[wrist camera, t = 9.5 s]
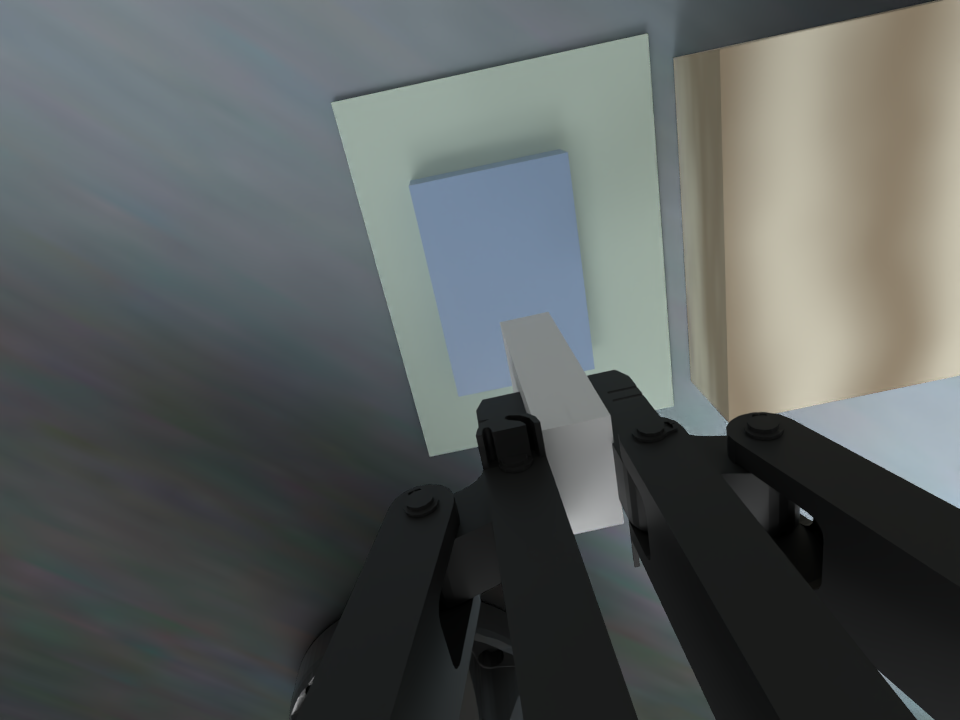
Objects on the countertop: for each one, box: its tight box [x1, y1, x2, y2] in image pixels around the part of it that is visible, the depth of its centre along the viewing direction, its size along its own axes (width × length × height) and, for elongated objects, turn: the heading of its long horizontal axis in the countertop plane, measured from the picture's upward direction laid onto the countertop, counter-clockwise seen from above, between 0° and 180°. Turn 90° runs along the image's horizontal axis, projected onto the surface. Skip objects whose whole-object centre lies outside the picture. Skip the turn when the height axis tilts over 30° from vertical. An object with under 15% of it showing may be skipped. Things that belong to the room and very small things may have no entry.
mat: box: [331, 33, 674, 457], centre depth 25 cm, size 12×16×1 cm
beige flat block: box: [673, 0, 960, 422], centre depth 23 cm, size 12×14×4 cm
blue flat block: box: [409, 149, 595, 397], centre depth 24 cm, size 6×9×2 cm, turn 11°
